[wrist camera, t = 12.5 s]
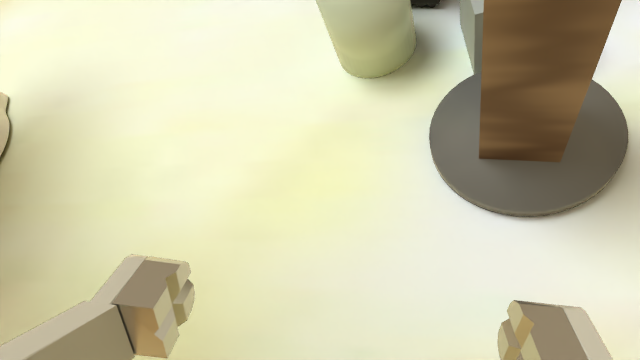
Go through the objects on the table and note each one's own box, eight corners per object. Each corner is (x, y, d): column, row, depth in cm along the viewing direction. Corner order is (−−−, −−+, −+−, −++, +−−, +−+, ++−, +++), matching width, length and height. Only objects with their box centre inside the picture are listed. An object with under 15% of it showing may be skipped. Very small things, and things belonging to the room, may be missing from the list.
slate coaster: (420, 207, 23) (419, 201, 22) (439, 74, 27) (438, 66, 26) (631, 226, 19) (637, 220, 18) (616, 67, 23) (620, 57, 22)
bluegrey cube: (474, 75, 26) (474, 14, 22) (460, 24, 28) (458, -39, 24) (557, 56, 25) (574, -12, 21) (535, 5, 27) (547, -66, 23)
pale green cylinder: (331, 79, 30) (304, 16, 25) (347, 23, 32) (325, -44, 27) (410, 76, 28) (397, 6, 23) (421, 16, 30) (411, -59, 25)
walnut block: (478, 158, 22) (484, -36, 12) (483, 102, 24) (492, -110, 14) (560, 162, 21) (643, -57, 11) (559, 101, 22) (631, -138, 12)
